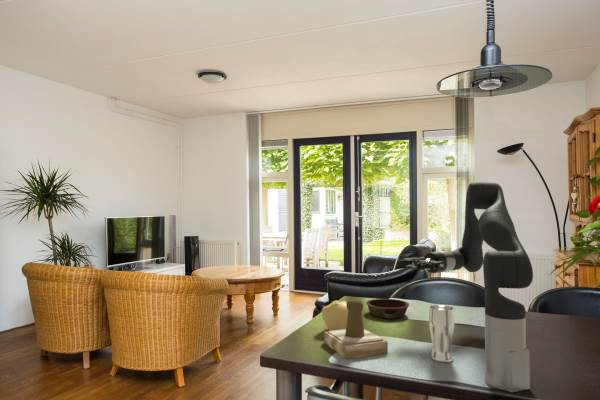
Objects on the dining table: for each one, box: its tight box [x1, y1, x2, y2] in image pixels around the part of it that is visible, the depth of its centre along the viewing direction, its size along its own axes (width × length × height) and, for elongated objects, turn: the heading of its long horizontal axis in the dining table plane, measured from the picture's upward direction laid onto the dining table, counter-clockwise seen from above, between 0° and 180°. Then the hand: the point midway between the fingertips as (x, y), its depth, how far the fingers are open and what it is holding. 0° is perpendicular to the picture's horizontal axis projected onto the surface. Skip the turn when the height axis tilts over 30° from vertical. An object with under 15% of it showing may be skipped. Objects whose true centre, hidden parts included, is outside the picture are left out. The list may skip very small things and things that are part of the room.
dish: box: [365, 298, 410, 320], centre depth 175 cm, size 18×22×5 cm
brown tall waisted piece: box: [345, 299, 365, 338], centre depth 133 cm, size 6×6×11 cm
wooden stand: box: [323, 328, 389, 360], centre depth 133 cm, size 16×14×4 cm
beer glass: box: [428, 304, 455, 363], centre depth 123 cm, size 7×7×15 cm
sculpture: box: [321, 300, 348, 331], centre depth 151 cm, size 12×12×11 cm
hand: (407, 265), depth 145 cm, fingers open, 8 cm apart
